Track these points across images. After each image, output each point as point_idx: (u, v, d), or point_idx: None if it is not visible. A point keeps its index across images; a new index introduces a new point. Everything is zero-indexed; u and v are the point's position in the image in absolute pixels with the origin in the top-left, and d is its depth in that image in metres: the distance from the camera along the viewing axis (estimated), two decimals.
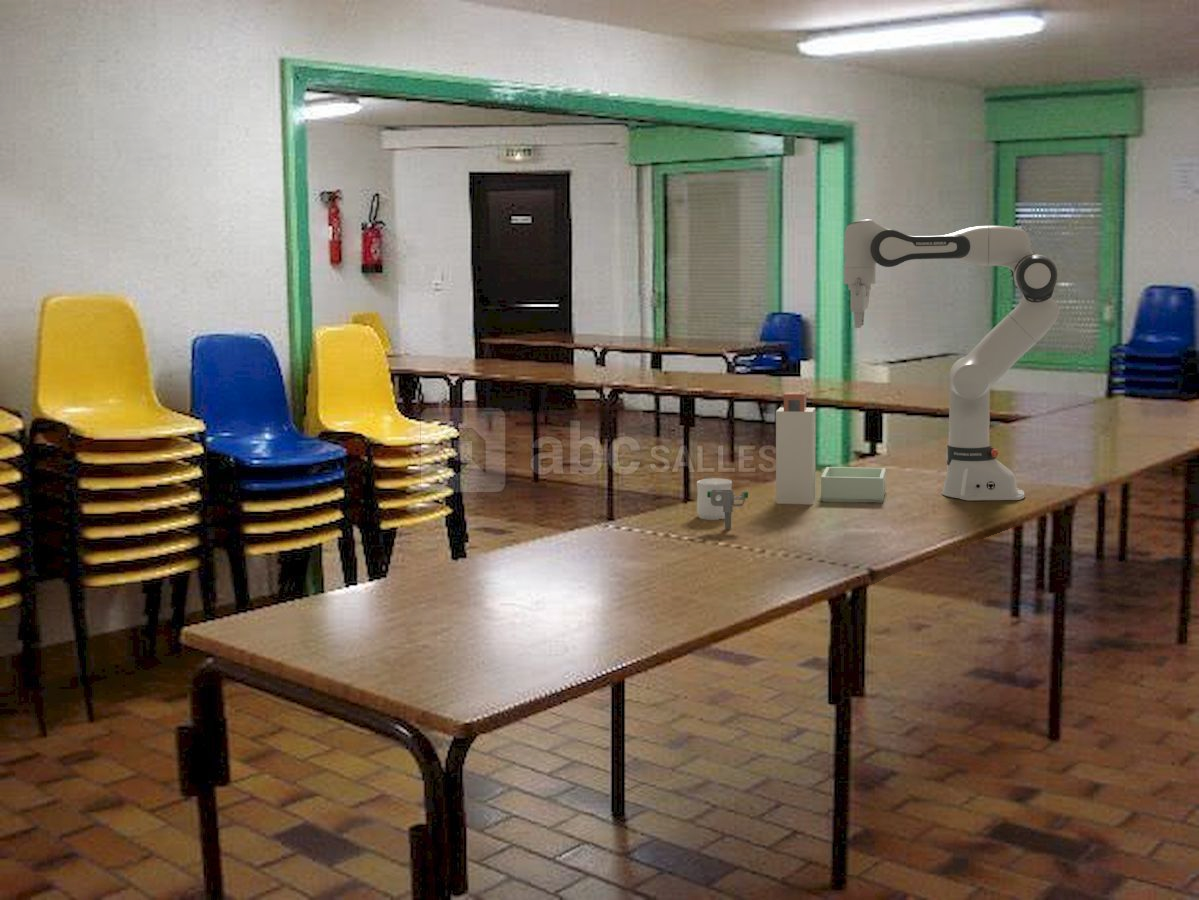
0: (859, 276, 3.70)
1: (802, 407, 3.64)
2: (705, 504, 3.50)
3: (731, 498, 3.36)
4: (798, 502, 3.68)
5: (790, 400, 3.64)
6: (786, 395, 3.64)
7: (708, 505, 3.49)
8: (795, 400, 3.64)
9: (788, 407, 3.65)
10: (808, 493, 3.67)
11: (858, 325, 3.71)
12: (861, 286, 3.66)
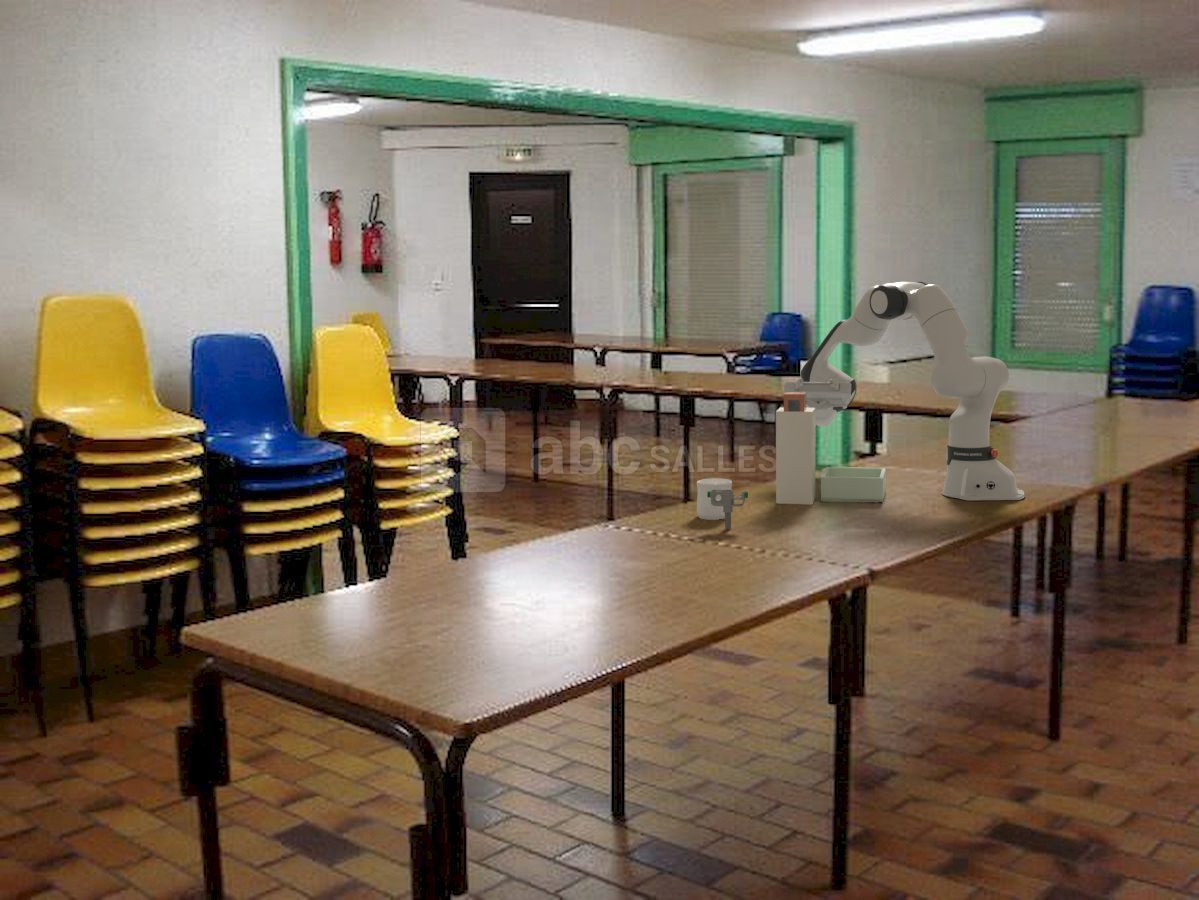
0: None
1: (802, 407, 3.64)
2: (705, 504, 3.50)
3: (731, 498, 3.36)
4: (798, 502, 3.68)
5: (790, 400, 3.64)
6: (786, 395, 3.64)
7: (708, 505, 3.49)
8: (795, 400, 3.64)
9: (788, 407, 3.65)
10: (808, 493, 3.67)
11: (798, 381, 3.96)
12: None
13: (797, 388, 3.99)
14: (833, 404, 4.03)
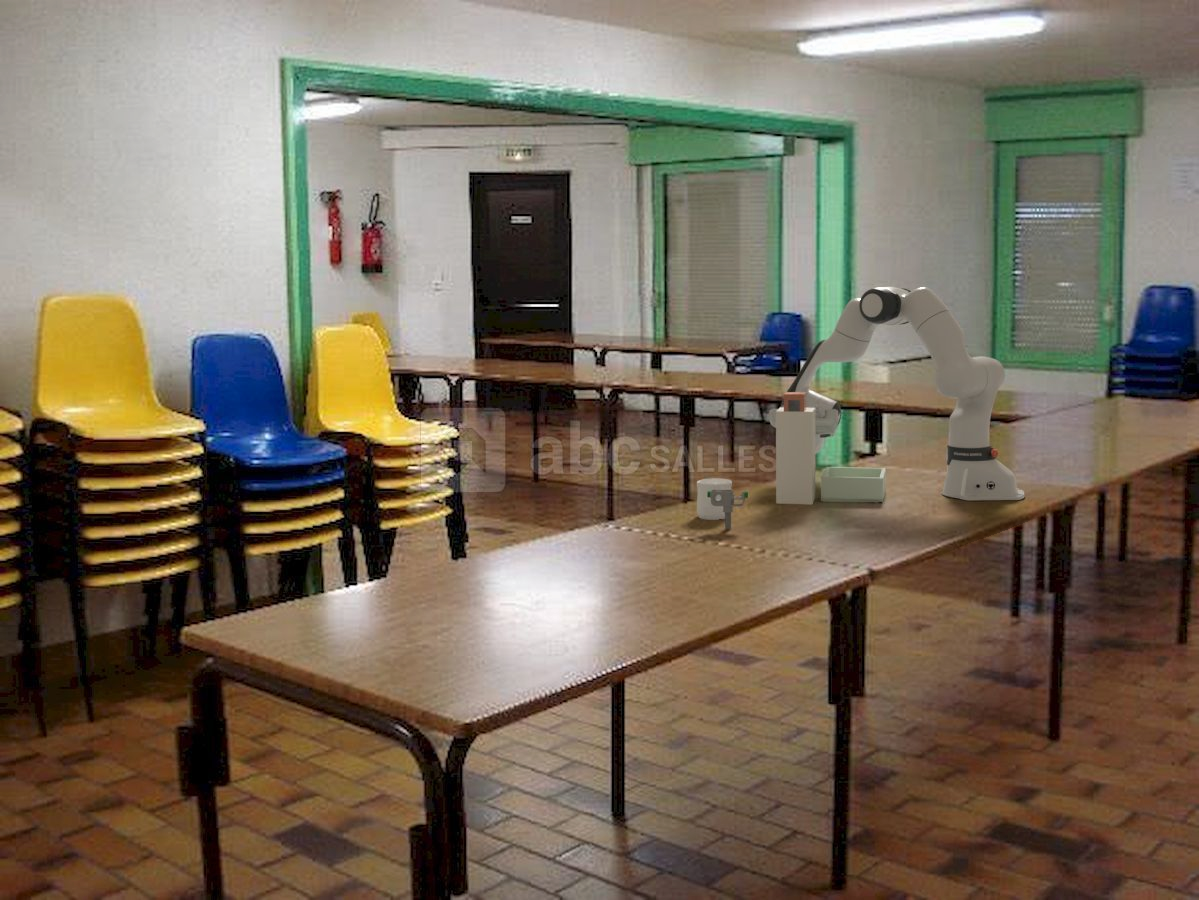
0: None
1: (802, 407, 3.64)
2: (705, 504, 3.50)
3: (731, 498, 3.36)
4: (798, 502, 3.68)
5: (790, 400, 3.64)
6: (786, 395, 3.64)
7: (708, 505, 3.49)
8: (795, 400, 3.64)
9: (788, 407, 3.65)
10: (808, 493, 3.67)
11: None
12: None
13: None
14: (820, 431, 3.91)
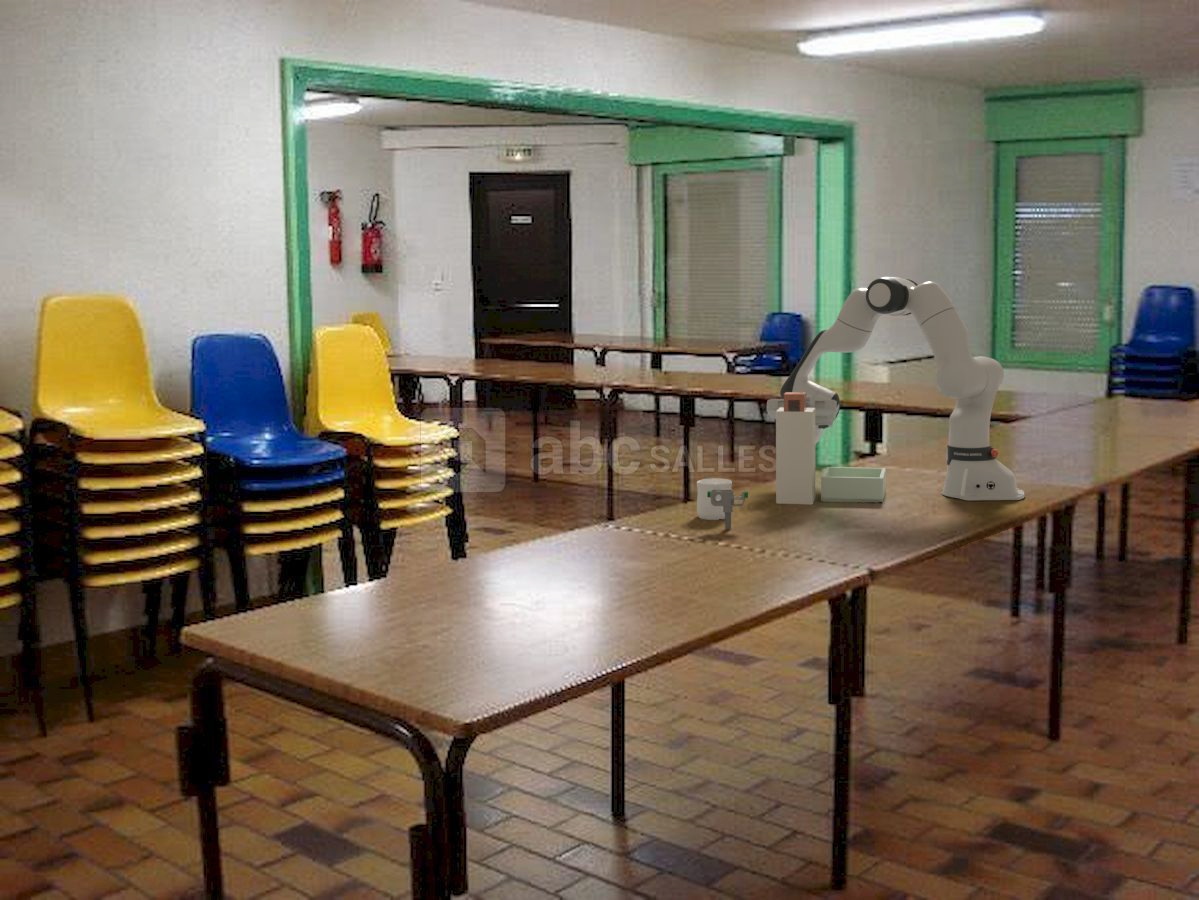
0: None
1: (802, 407, 3.64)
2: (705, 504, 3.50)
3: (731, 498, 3.36)
4: (798, 502, 3.68)
5: (790, 400, 3.64)
6: (786, 395, 3.64)
7: (708, 505, 3.49)
8: (795, 400, 3.64)
9: (788, 407, 3.65)
10: (808, 493, 3.67)
11: None
12: None
13: None
14: (818, 422, 3.86)
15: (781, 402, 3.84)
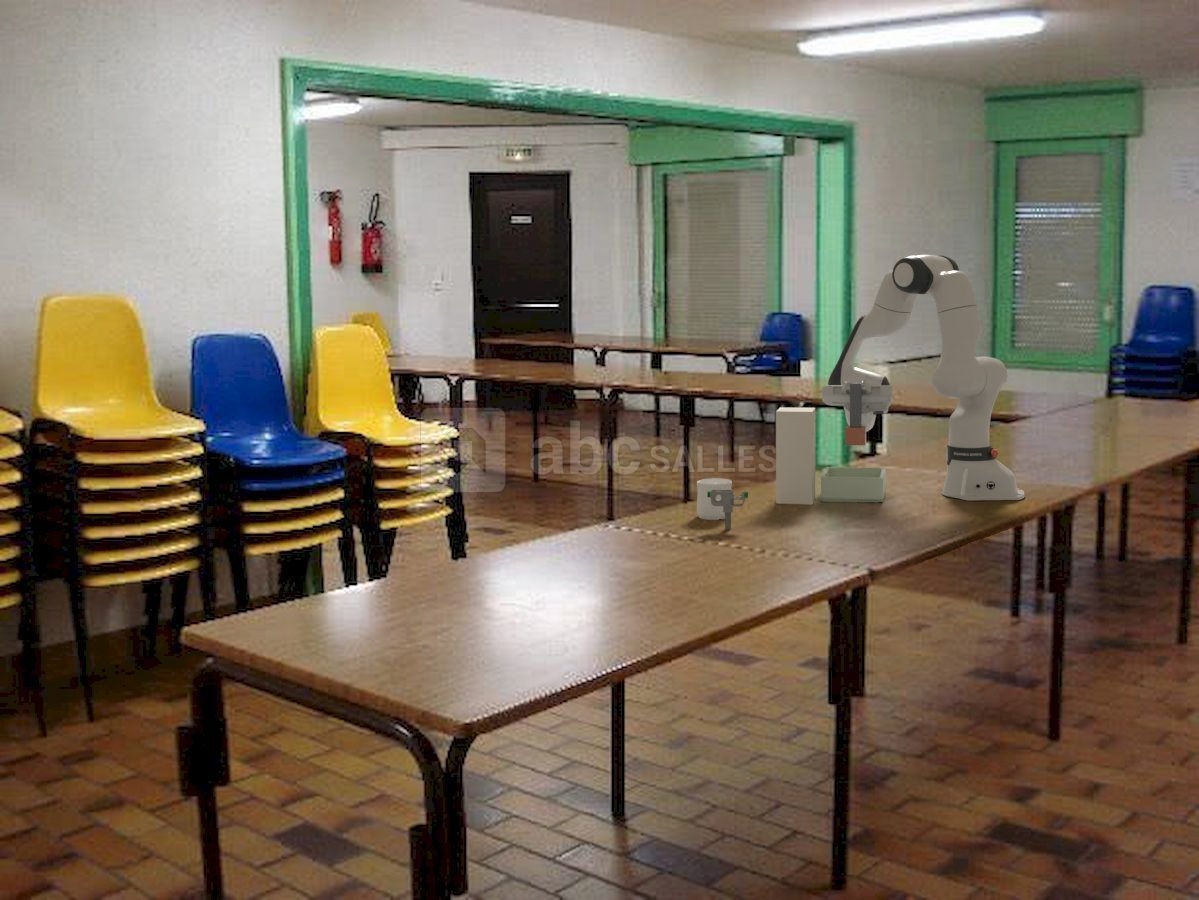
0: None
1: None
2: (705, 504, 3.50)
3: (731, 498, 3.36)
4: (798, 502, 3.68)
5: None
6: (847, 444, 3.79)
7: (708, 505, 3.49)
8: None
9: None
10: (808, 493, 3.67)
11: (844, 384, 3.78)
12: None
13: (844, 392, 3.80)
14: (873, 408, 3.85)
15: (836, 388, 3.83)
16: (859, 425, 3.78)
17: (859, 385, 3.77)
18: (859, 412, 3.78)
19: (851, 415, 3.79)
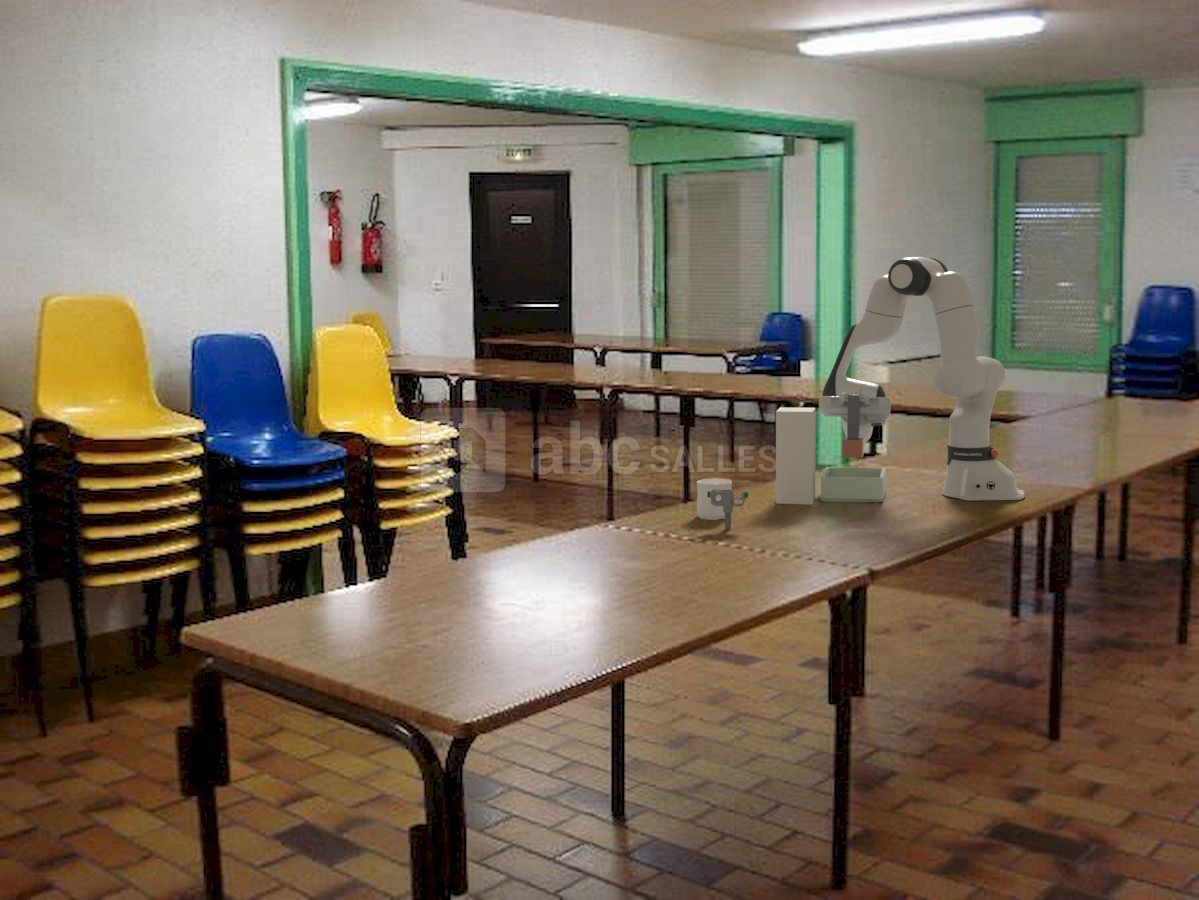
0: None
1: None
2: (705, 504, 3.50)
3: (731, 498, 3.36)
4: (798, 502, 3.68)
5: None
6: None
7: (708, 505, 3.49)
8: None
9: None
10: (808, 493, 3.67)
11: (842, 395, 3.72)
12: None
13: (842, 403, 3.75)
14: (871, 420, 3.79)
15: (834, 399, 3.78)
16: (857, 437, 3.73)
17: (857, 397, 3.71)
18: (857, 424, 3.72)
19: (849, 427, 3.73)
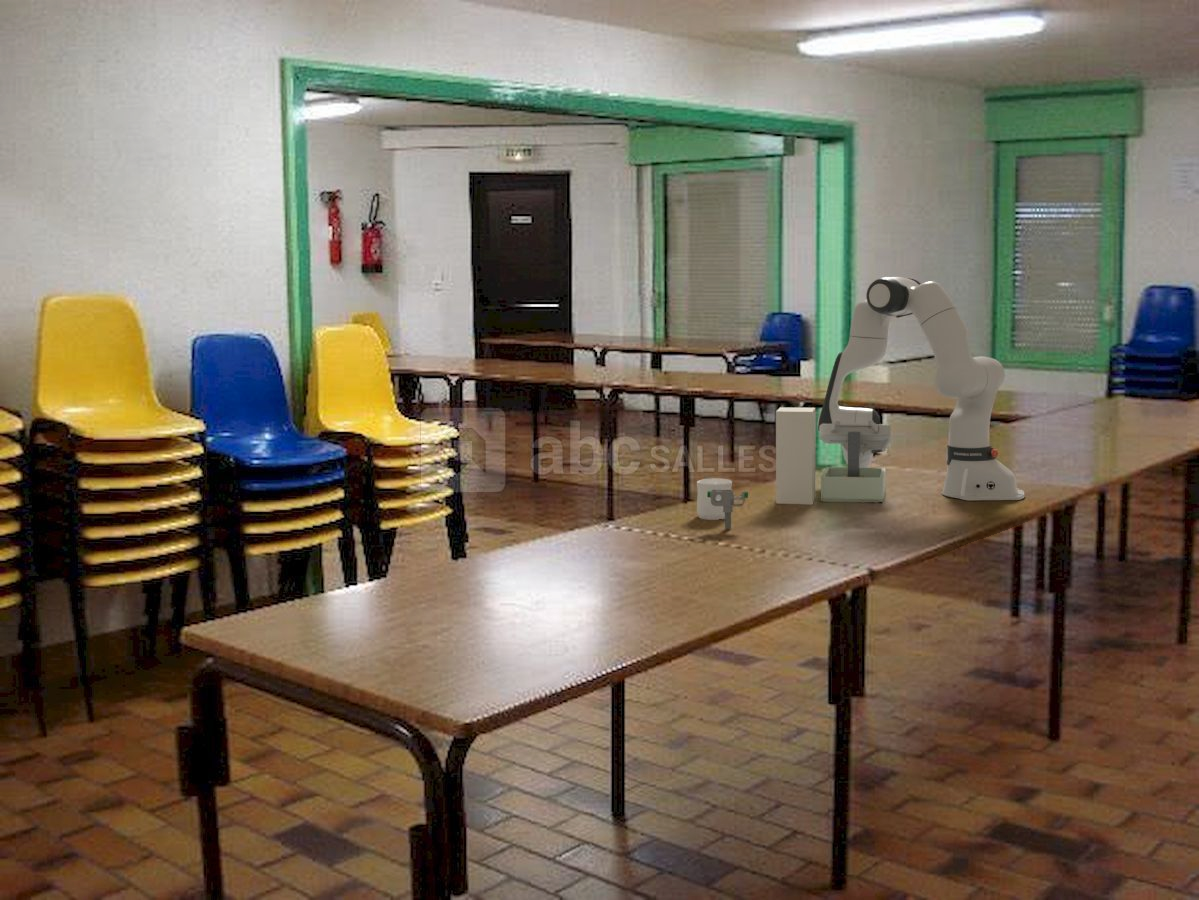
0: None
1: None
2: (705, 504, 3.50)
3: (731, 498, 3.36)
4: (798, 502, 3.68)
5: None
6: None
7: (708, 505, 3.49)
8: None
9: None
10: (808, 493, 3.67)
11: (834, 423, 3.74)
12: None
13: (833, 430, 3.76)
14: (871, 447, 3.80)
15: None
16: (857, 475, 3.74)
17: (857, 434, 3.73)
18: (857, 462, 3.74)
19: (849, 465, 3.75)
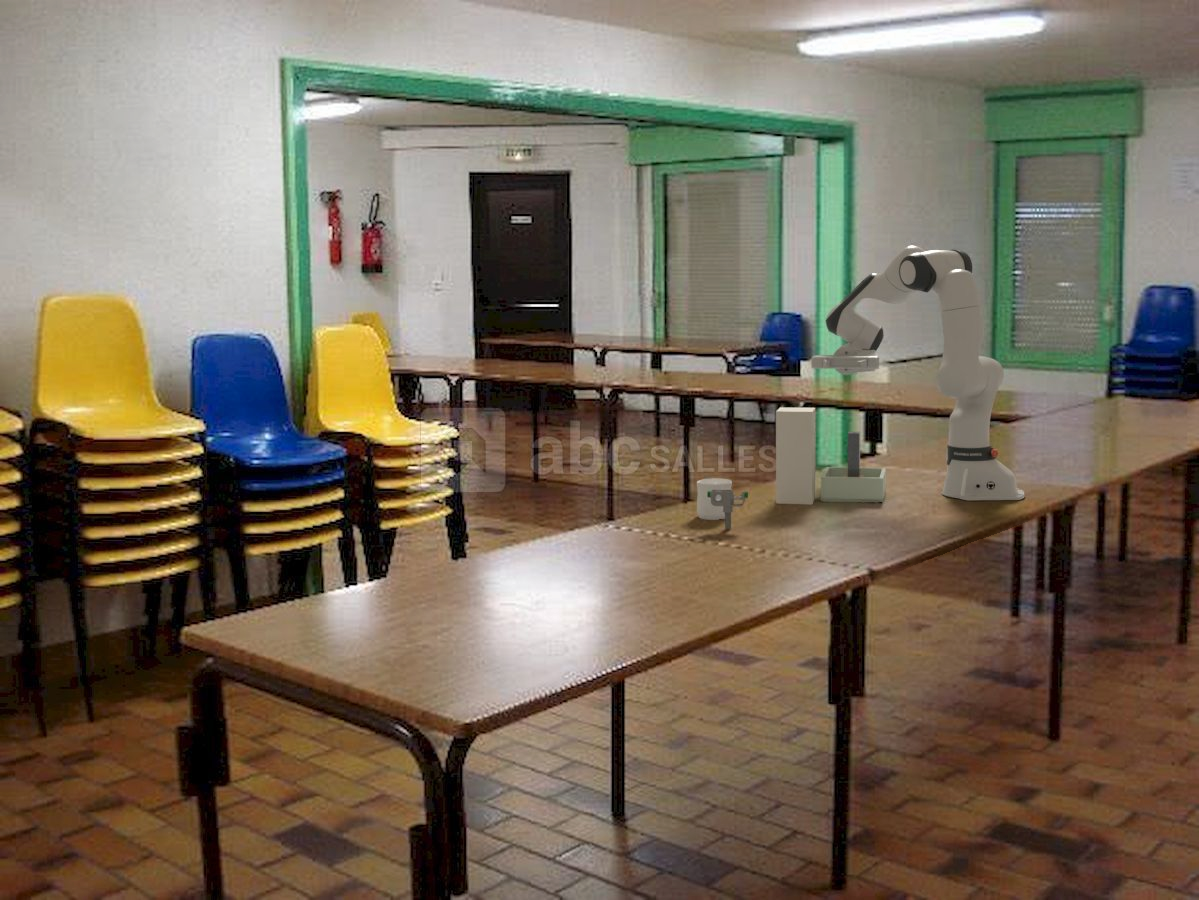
0: None
1: None
2: (705, 504, 3.50)
3: (731, 498, 3.36)
4: (798, 502, 3.68)
5: None
6: None
7: (708, 505, 3.49)
8: None
9: None
10: (808, 493, 3.67)
11: (825, 363, 3.94)
12: None
13: (825, 366, 3.97)
14: (861, 370, 4.02)
15: (825, 359, 3.98)
16: (857, 475, 3.74)
17: (857, 435, 3.73)
18: (857, 462, 3.74)
19: (849, 465, 3.74)
